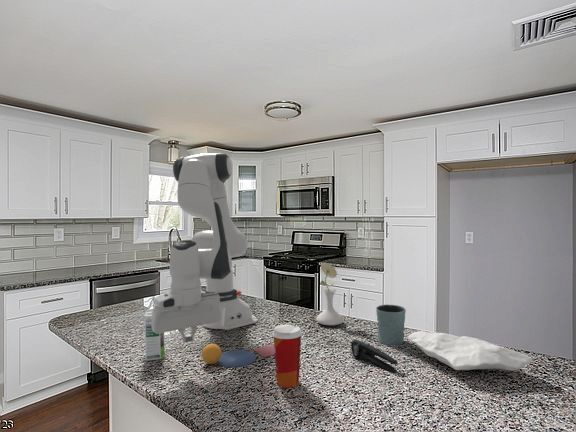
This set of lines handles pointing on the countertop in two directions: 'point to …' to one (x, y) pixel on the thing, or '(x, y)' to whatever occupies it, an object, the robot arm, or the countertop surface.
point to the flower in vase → (329, 300)
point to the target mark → (236, 358)
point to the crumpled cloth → (468, 352)
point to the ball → (211, 353)
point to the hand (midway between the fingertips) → (188, 341)
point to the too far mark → (265, 351)
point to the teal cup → (391, 324)
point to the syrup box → (153, 341)
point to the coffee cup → (287, 354)
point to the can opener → (372, 355)
